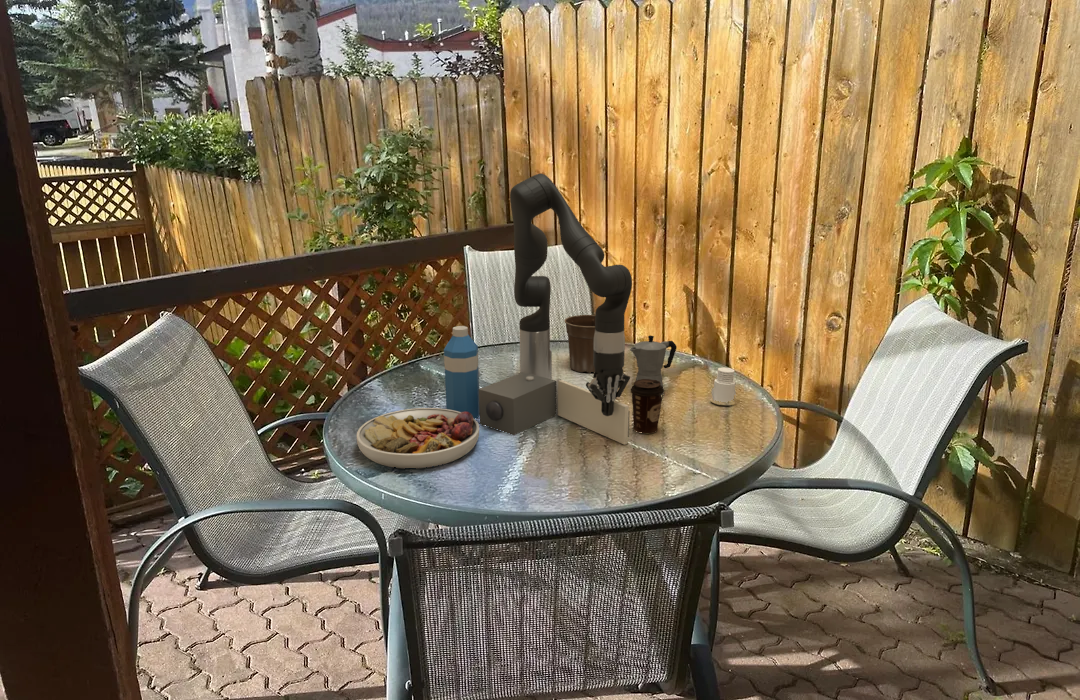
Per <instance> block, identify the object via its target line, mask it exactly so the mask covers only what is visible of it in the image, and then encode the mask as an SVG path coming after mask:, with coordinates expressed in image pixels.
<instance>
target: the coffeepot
mask: <svg viewBox="0 0 1080 700" xmlns="http://www.w3.org/2000/svg"><path fill="white" fill-rule="evenodd" d="M654 337H655V336H653V335H648V336H647V338H648V341H639V342H636V343H635V344H634V346H632V347H629V348H630V349H629V350H630V351H631V353H633V355H634V357H635V360H636V366H637V373H636V377H635V381H637V380H641V379H651V380H657V381H659V382H660V383H661V386H663V387H664V382H663V375H662V369H670V368H671V365H672V363H673V360H674V356H675V354H676V351H677V344H675V342H674V341H673V340H667V341H666V340H665V341H661V342H658V341H654ZM668 348H670V350H669V355H668V357H667V363H666V364H665V365H664V361H665V358H666V352H667V349H668ZM663 394H664V395H665V391H664V392H663V393H662V394H661V395H663Z"/></svg>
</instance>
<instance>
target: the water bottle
mask: <svg viewBox="0 0 1080 700" xmlns="http://www.w3.org/2000/svg"><path fill="white" fill-rule="evenodd" d="M443 357H444V358H443V362H444V382H445V383H444V384H445V385H444V386H445V406H446V407H445V409H449V410H454V411H458V412H465V411H466V412H469V413H471V414H472V415H473V418H474V419H475V418H477V419H479V418H480V414H479V389H480V384H479V383H480V377H479V376H480V375H479V374H480V373H479V347H478V344H477V343H476V342H475V341H474V339H473V338H472V337H471V336H470V335H469V327H468V326H466V325H458V326H454V327H452V336H451V337H450V339H449V341H448V342H447V344H446V345H445V347H444V349H443ZM475 420H476V419H475Z"/></svg>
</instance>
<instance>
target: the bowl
mask: <svg viewBox="0 0 1080 700" xmlns="http://www.w3.org/2000/svg"><path fill="white" fill-rule="evenodd" d="M479 437H480V423H479V422H478V421H477V419H474V418H473V415H472V414H471V413H469V412H466V411H465V412H458V411H454V410H449V409H446V408H438V407H420V408H419V407H418V408H417V407H416V408H415V407H414V408H407V409H400V410H396V411H395V410H394V411H391V412H387V413H384V414H381V415H379V416H376V417H374V418H371V419H369V420H368V421H366V422H365V423H363V424H362V425H361V426H360V427H359V428H358V430H357V432H356V443H357V446H358V448H359V450H360V452H361V453H362V454H363V455H364V456H365V457H366V458H367V459H369V460H370V461H372V462H375V463H376V464H379V465H382V466H385V467H390V468H394V467H396V468H397V469H405V468H416V469H426V467H427V468H433V467H432V466H434V467H438V465H439V466H442V464H443V465H445V464H449V463H452V462H454V461H456V460H459V459H460V458H463V457H464V456H465V455H467V454H468V453H469V452H471V450H473V448H474V447H475V446H476V445H477V443H478V440H479Z"/></svg>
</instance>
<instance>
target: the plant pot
mask: <svg viewBox="0 0 1080 700" xmlns="http://www.w3.org/2000/svg"><path fill="white" fill-rule="evenodd" d="M564 324H565V325H566V326H565V327H566V334H567V339H568V353H569V367H570V369H571V370H573V371H575V372H578V373H585V372H586V373H589V374H592V373H591V372H595V368H594V365H593V350H594V334H595V314H578V315H571V316H568V317H566V318H564Z"/></svg>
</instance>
